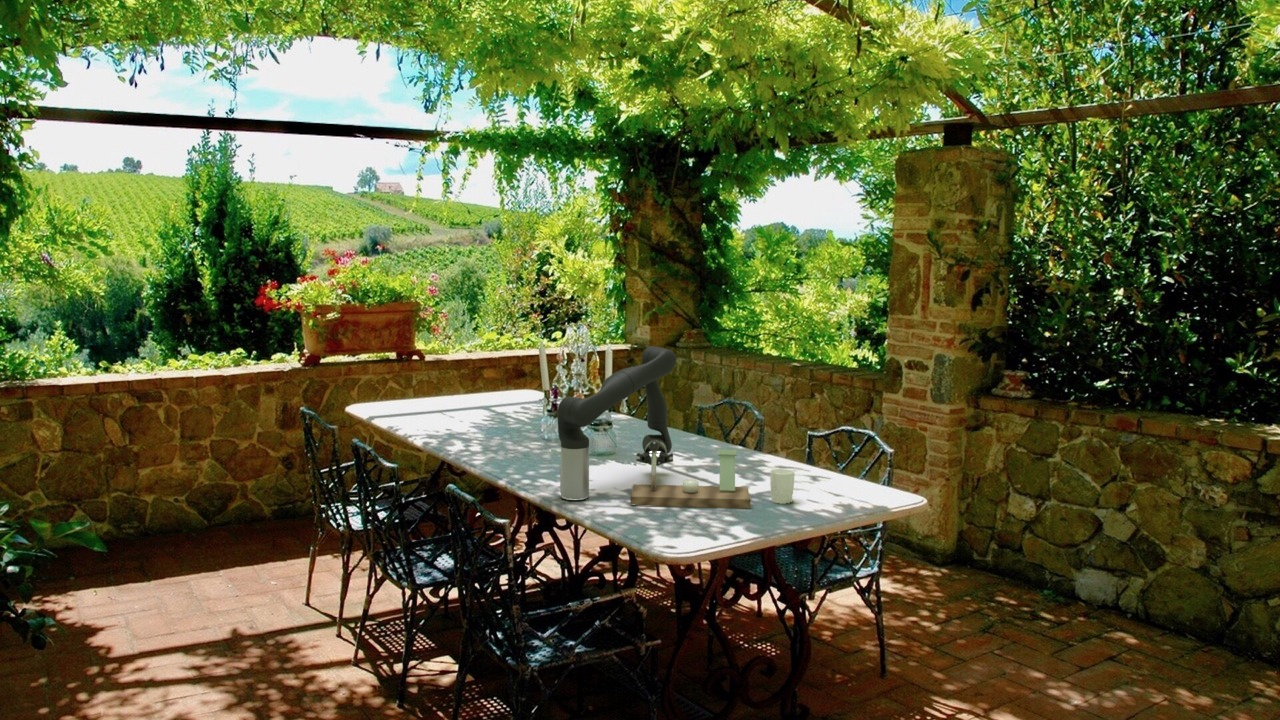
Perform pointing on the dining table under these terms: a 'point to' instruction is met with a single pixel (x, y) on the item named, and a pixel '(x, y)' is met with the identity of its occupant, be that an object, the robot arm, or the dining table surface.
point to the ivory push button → (690, 486)
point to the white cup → (782, 485)
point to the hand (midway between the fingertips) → (653, 462)
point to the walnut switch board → (690, 497)
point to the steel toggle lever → (653, 463)
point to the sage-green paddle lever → (727, 469)
